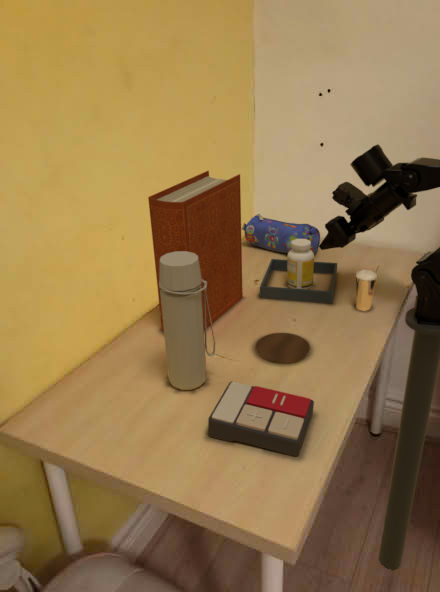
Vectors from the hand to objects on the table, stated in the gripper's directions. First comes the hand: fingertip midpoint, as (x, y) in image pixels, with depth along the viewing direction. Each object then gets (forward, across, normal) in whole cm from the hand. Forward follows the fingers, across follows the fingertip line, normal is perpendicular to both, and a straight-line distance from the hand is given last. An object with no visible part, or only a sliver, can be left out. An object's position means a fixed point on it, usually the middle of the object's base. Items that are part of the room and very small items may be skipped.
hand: (330, 241), depth 125 cm
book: (+22, +26, -3) cm, 34 cm away
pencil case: (+27, -17, -8) cm, 32 cm away
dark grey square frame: (+15, 0, +4) cm, 15 cm away
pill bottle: (+15, 0, +4) cm, 16 cm away
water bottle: (+12, +46, +8) cm, 48 cm away
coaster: (+6, +27, +13) cm, 31 cm away
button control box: (-1, +49, +20) cm, 53 cm away
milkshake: (+2, +1, +17) cm, 17 cm away
